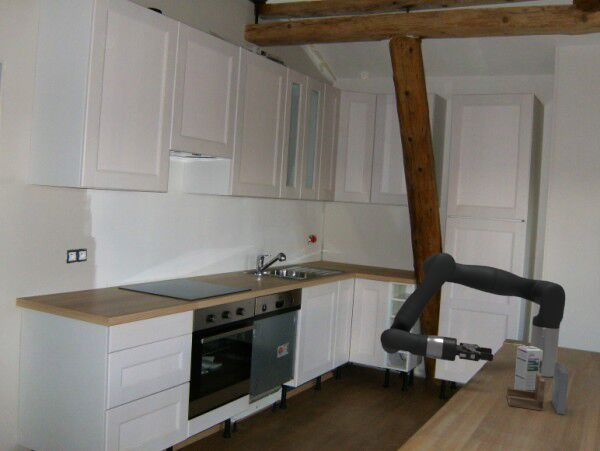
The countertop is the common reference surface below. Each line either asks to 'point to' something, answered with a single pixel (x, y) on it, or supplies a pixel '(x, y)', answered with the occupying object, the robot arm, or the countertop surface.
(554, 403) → the plate
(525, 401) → the cradle
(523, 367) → the syrup box
